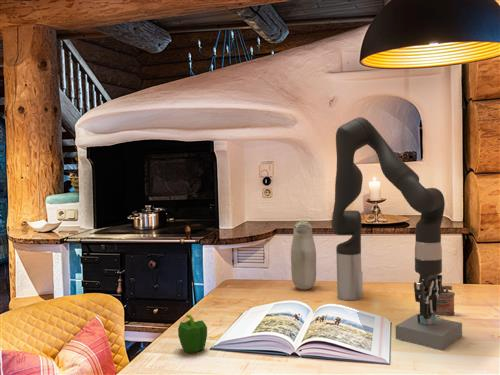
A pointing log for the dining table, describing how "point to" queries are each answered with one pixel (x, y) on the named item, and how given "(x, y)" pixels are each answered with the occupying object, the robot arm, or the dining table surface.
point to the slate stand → (429, 332)
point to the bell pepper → (192, 335)
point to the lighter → (445, 302)
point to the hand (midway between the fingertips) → (428, 312)
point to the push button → (431, 317)
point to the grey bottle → (303, 256)
